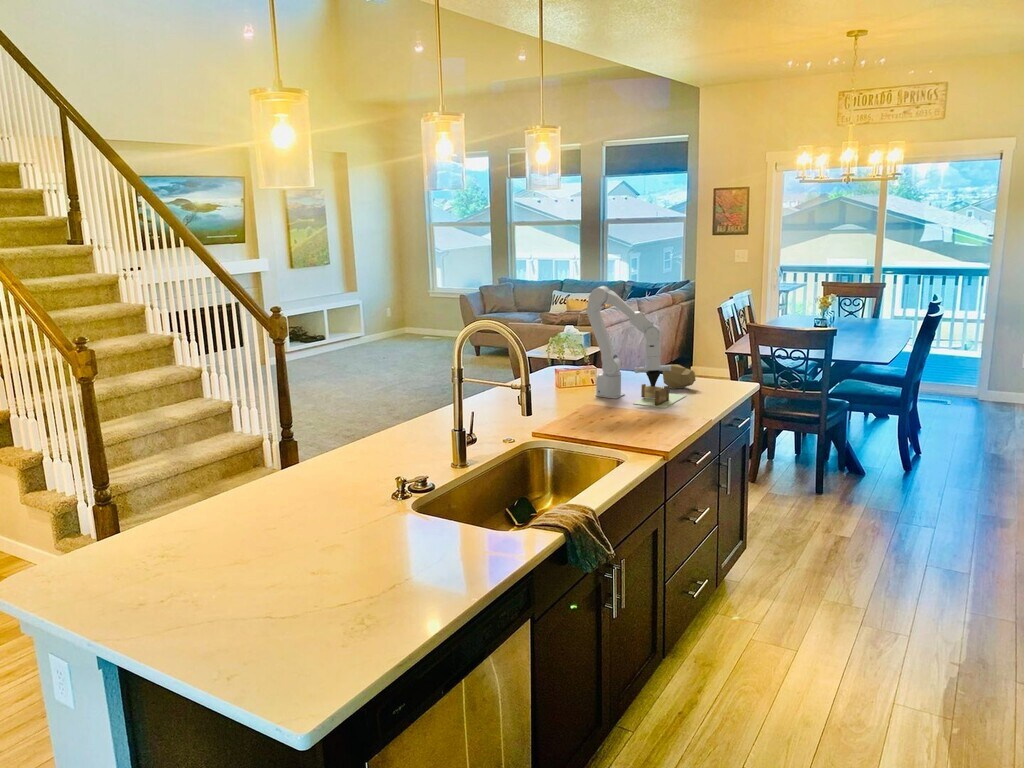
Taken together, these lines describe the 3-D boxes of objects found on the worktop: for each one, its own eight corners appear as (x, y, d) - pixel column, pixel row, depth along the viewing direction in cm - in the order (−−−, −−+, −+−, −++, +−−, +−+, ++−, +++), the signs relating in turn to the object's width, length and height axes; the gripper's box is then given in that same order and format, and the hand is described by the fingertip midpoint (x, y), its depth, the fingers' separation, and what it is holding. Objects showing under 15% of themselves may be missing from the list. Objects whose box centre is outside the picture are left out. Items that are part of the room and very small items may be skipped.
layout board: (633, 404, 295) (633, 403, 295) (655, 392, 313) (655, 391, 313) (664, 408, 288) (665, 407, 288) (686, 396, 306) (686, 395, 306)
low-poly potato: (654, 387, 323) (661, 380, 312) (659, 363, 326) (666, 355, 315) (688, 396, 323) (697, 389, 312) (693, 372, 326) (701, 365, 315)
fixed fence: (653, 406, 292) (654, 391, 290) (664, 399, 300) (665, 385, 299) (658, 406, 290) (658, 391, 289) (669, 400, 299) (670, 386, 298)
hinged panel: (662, 398, 300) (663, 385, 299) (662, 399, 299) (662, 386, 298) (641, 396, 304) (642, 384, 302) (640, 397, 302) (641, 384, 301)
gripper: (666, 352, 305) (666, 386, 308) (631, 355, 302) (631, 388, 305) (673, 355, 298) (673, 389, 301) (637, 358, 295) (637, 392, 298)
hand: (652, 389), depth 302 cm, fingers closed, pressing on hinged panel
